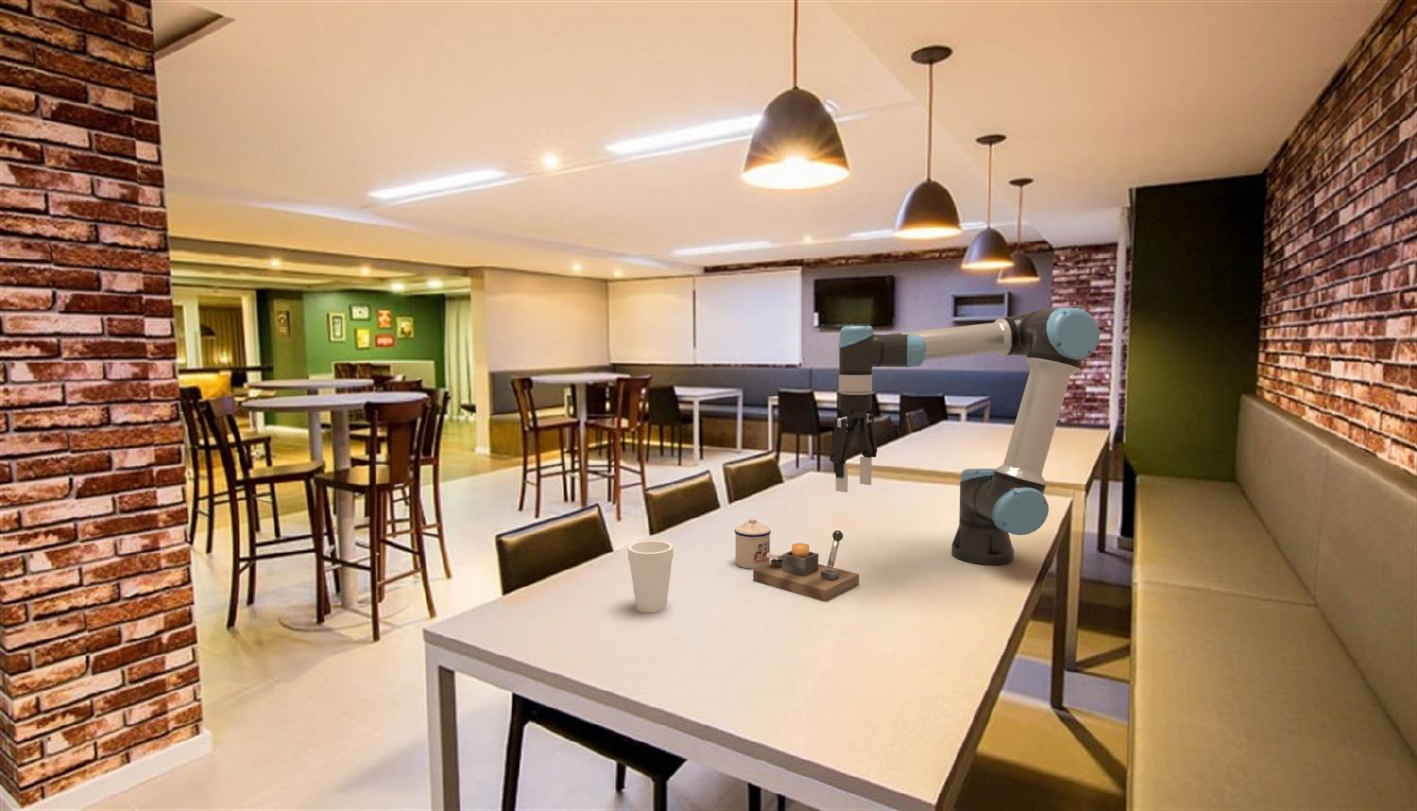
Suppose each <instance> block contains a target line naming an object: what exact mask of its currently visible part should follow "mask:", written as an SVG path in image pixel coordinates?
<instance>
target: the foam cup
mask: <svg viewBox="0 0 1417 811" xmlns="http://www.w3.org/2000/svg"><path fill="white" fill-rule="evenodd" d="M673 559H674V546H673V544H672V543H670V542H667V541H665V540H641V541H637V542H633V543H631V544H629V545H628V547H627V560H628V561H629V567H630V575H631V580H632V582H631V583H632V587H633V588H632V589H633V594H634V602H635V606H636V610H637V611H640V612H642V613H648V614H649V613H658V612H661V611H664V610H666V607H667V603H668V597H669V596H668V595H669V589H670V579H671V572H672V562H673Z"/></svg>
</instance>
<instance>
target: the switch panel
mask: <svg viewBox="0 0 1417 811" xmlns="http://www.w3.org/2000/svg"><path fill="white" fill-rule="evenodd" d="M786 552H787V551H786ZM752 581H754V582H756V583H760V584H764V585H768V586H770V587H774V588H777V589H781V590H785V591H787V592H792V593H795V594H798V595H802V596H805V597H809V598H812V599H815V600H819V601H821V602H822V601H823V602H824V603H825V602H828V601H830V600H832V599H834V598H836V597H838V596H840V595H842V594H844V593H846V592H847V591H849V590H851V589H853V588H856V587H857V586H859V585H860V573H856V572H851V571H848V570H844V569H840V568H837V567H836V568H835V567H833V568H832V569H830V568H828V566H827V565H824V564H820V563H819V553H817V552H813V551H809V556H808V557H806V558H799V557H795V556H792V550H791V551H788V552H787V553H785V554H782V559H781V560H775V559H772V558H771V560H770V564H768V565H765V566H762V567H760V568H757V569H752Z"/></svg>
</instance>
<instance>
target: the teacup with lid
mask: <svg viewBox="0 0 1417 811" xmlns="http://www.w3.org/2000/svg"><path fill="white" fill-rule="evenodd" d="M771 532H772V531H771V528H770V527H769V526H768V525H766V524H762V523H760V522H759V521H758V519H757V518H756V517H750V518H748V521H747V522H744V523H743V524H740V525H738V526H736V527H735V529H734V533H735V565H736V566H738V567H739V568H742V567H743V569H747V568H748V569H749V570H755V569H757V568H760V567H762V566H765V565H768V564H770V563H771V560H770V559H771V558H768V557H766V555H767V553H771V549H770V548H771V546H770V544H771V542H770V541H771Z"/></svg>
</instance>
